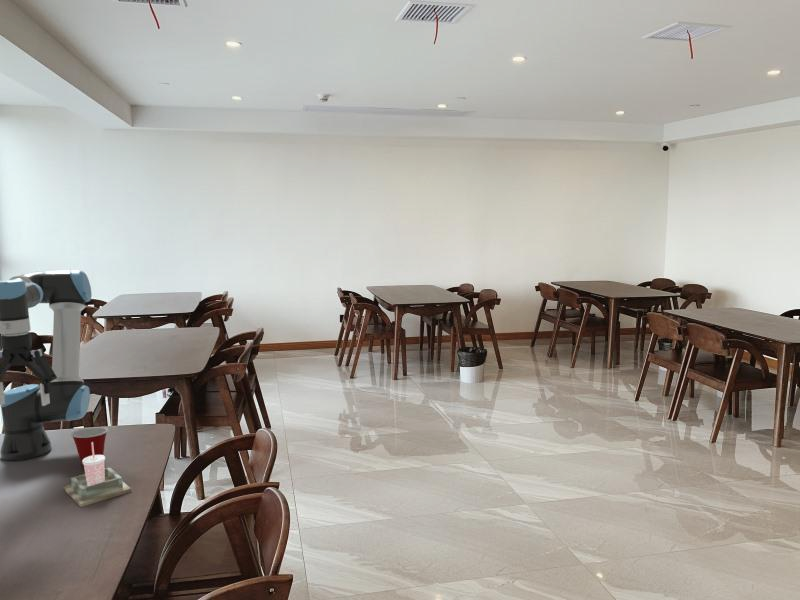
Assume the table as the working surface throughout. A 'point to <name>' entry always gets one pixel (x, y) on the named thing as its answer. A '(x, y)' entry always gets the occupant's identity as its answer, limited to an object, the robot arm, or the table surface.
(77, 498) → the cup stand
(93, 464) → the beverage cup
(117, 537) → the table surface
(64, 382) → the robot arm
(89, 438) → the plastic cup
